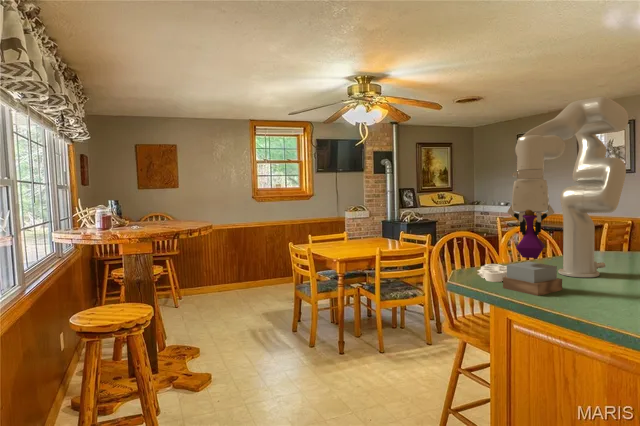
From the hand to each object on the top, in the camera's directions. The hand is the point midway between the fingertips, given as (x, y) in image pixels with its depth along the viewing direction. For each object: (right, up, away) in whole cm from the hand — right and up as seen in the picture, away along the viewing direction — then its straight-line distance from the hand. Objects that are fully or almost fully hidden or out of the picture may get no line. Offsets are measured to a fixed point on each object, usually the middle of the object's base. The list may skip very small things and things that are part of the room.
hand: (530, 234), depth 137 cm
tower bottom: (+1, -18, 0) cm, 18 cm away
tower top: (0, -14, 0) cm, 14 cm away
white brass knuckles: (-2, -17, +19) cm, 26 cm away
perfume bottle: (0, -7, 0) cm, 7 cm away
